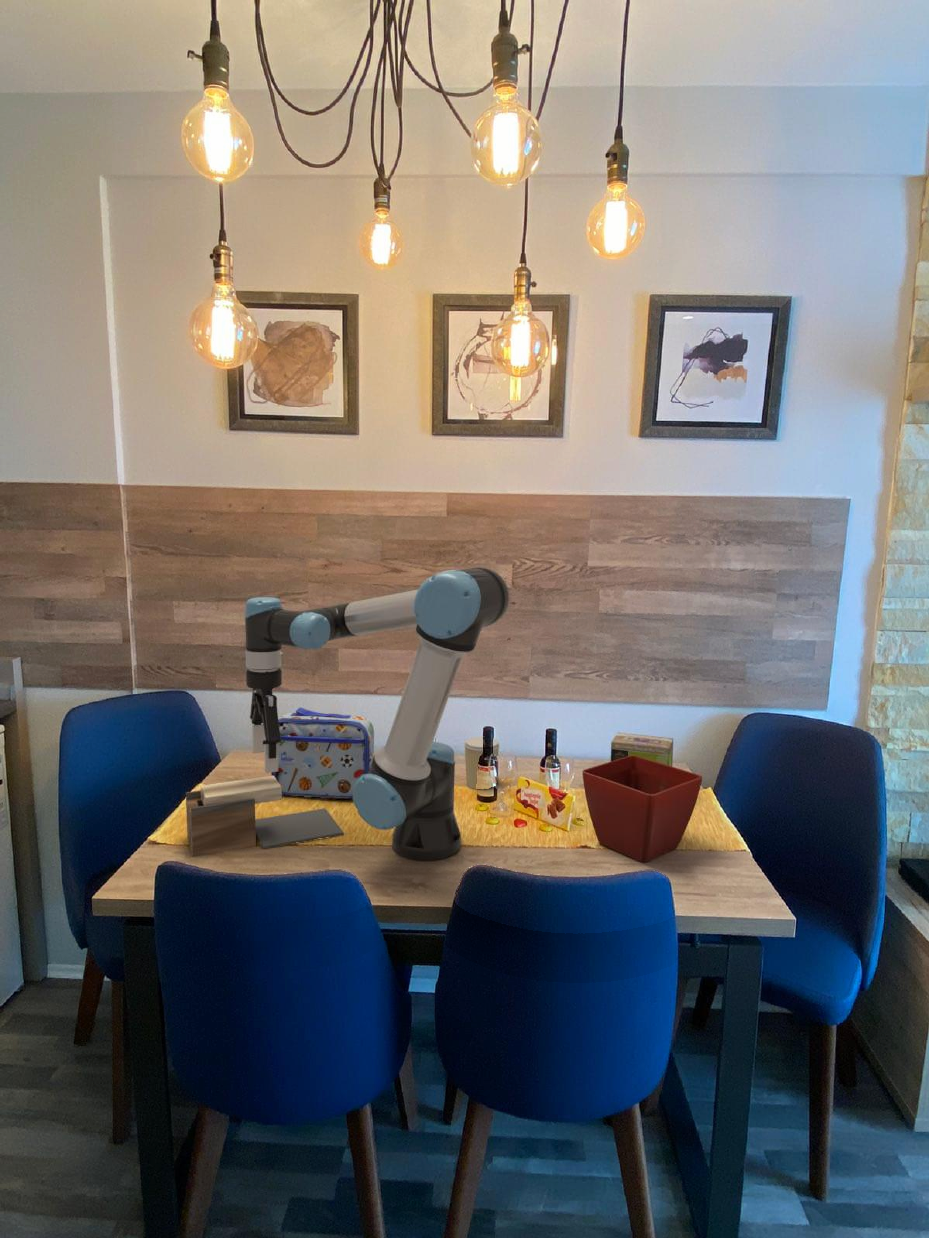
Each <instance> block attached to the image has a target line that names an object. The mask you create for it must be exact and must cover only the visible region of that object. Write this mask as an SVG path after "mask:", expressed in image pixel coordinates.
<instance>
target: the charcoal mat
mask: <svg viewBox="0 0 929 1238" xmlns="http://www.w3.org/2000/svg"><path fill="white" fill-rule="evenodd" d="M255 828H256V839H257V841H258V843H259V844H260V846H261V848H262V850H267V849H272V848H277V847H285V846H288V845H289V844H290V845H294V844H293V843H295V844H297V843H296V842H301V843H305V842H304V841H306V842H311V841H310V840H312V841H315V840H314V839H318V838H323V839H327V838H326V837H329V838H332V837H331V836H334V837H338V836H337V835H340V836H344V835H345V833H344V831H343V829H342V828H341V827H340V826H339V824H338V822H336V820H335V819H334V818H333V816H332V815H331V814H330V812H328V810H327V809H326V808H319V809H311V810H306V811H300V812H295V813H288V814H287V813H286V814H281V815H276V816H268V817H263V818H257V819H256V818H255ZM318 840H319V839H318Z"/></svg>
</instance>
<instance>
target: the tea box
mask: <svg viewBox="0 0 929 1238" xmlns="http://www.w3.org/2000/svg"><path fill="white" fill-rule="evenodd" d="M610 744H611V745H610V762H611V761H614V760H618V759H621V758H624V757H628V756H631V755H634V756H639V757H642V758H645V759H649V760H652V761H655V762H659V763H662V764H665V765H669V766H672V767H673V763H674V761H673V760H674V759H673V756H674V738H672V737H665V736H664V737H663V736H661V737H660V736H654V735H644V734H636V733H626V732H617V733H616V734H615V736H614V738H613V739H612V741H611V742H610Z"/></svg>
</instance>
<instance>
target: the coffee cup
mask: <svg viewBox="0 0 929 1238" xmlns="http://www.w3.org/2000/svg"><path fill="white" fill-rule="evenodd" d="M483 737H484V736H475V737H474V736H473V737H470V738H467V739H466V740H465V742H464V744H463V745H464V758H465V760H464V761H465V762H464V763H465V779H466V786H467V785H468V786H467V788H470V787H471V788H470V789H472V788H473V789H472V790H476V784H477V771H478V762H479V757H480V756H481V755H482V753H483ZM499 749H500V743H499V741H498V740H497V739H495V738H493V753H494V754H495V755H496V756H498V757H499Z"/></svg>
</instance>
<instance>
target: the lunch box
mask: <svg viewBox="0 0 929 1238" xmlns="http://www.w3.org/2000/svg"><path fill="white" fill-rule="evenodd" d="M278 722H279V731H280V738H281V742H279V743H278V771H277V772H270V773H271V775H270V776H274V777H275V778H276V780H277V781H278V783H279V784H280V785H281V787H282V795H284V794H286V795H285V796H288V795H294V796H293V797H297V796H304V797H303V798H311V797H321V798H320V799H348V800H349V799H353V788H354V785H355V783H356V781H357V780H358V779H359V778H360V777H361V776H362V775H365V774H367V773H368V772H369V770H370V767H371V764H372V761H373V758H374V755H375V753H374V751H375V728H374V725H373V723H372V721H370V720H369V719H368V718H366V717H362V716H358V715H351V714H339V713H322V712H317V711H313V710H309V709H307V708H303V707H298V708H297V709H296V710H295V712H290V713H286V714H284V715H282V716H281V718H278ZM272 737H274V736H272ZM272 737H271V738H272ZM295 795H297V796H295Z"/></svg>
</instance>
